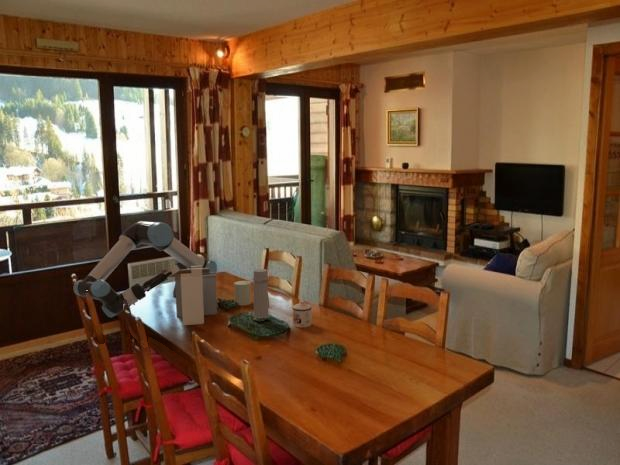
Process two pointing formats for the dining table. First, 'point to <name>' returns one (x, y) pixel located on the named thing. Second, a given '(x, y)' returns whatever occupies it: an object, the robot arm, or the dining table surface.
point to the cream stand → (192, 297)
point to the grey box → (208, 294)
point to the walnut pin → (187, 272)
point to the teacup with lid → (302, 315)
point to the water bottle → (260, 293)
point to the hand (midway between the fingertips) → (177, 267)
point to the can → (242, 292)
